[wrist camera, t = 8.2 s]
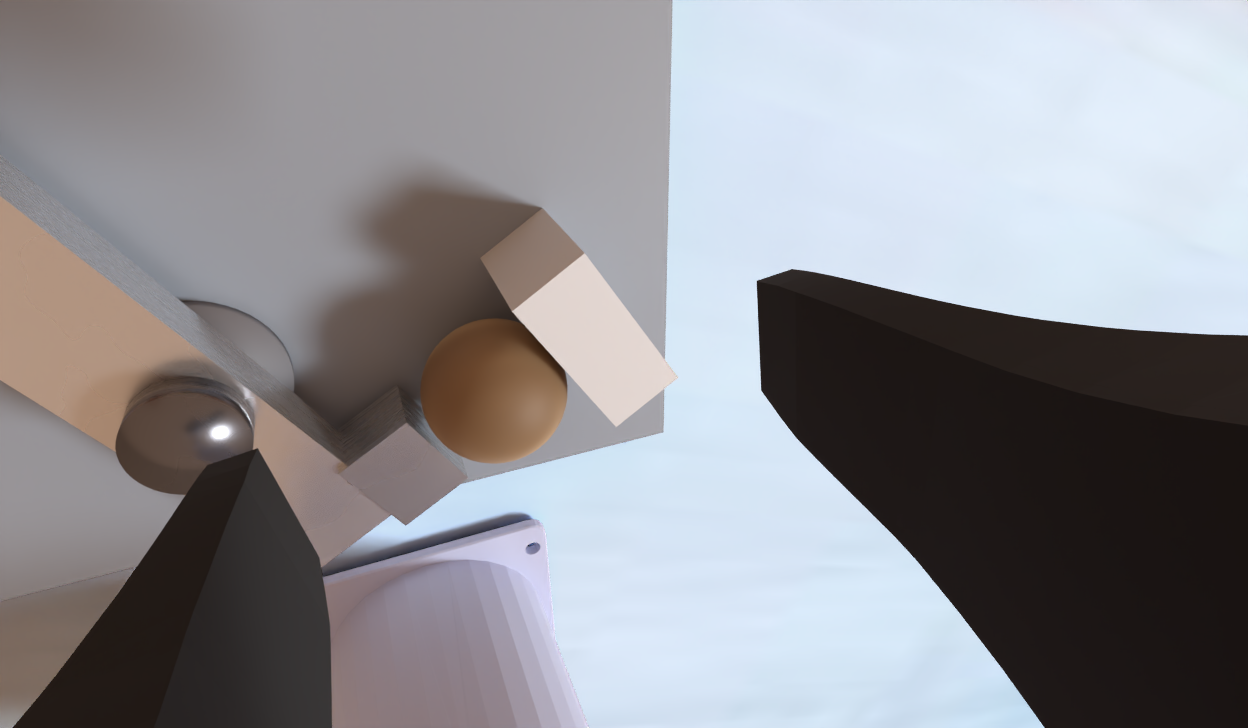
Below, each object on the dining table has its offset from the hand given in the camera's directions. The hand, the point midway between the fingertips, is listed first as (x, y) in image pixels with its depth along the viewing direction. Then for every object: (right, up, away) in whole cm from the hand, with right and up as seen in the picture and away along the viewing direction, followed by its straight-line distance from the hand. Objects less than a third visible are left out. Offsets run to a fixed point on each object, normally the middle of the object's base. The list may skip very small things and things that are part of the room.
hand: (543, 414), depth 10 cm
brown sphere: (-3, +1, +9) cm, 10 cm away
